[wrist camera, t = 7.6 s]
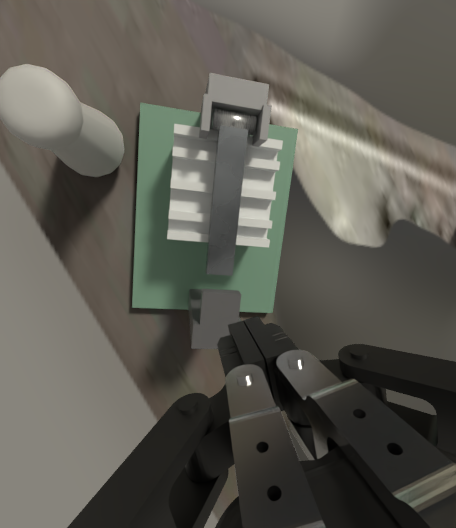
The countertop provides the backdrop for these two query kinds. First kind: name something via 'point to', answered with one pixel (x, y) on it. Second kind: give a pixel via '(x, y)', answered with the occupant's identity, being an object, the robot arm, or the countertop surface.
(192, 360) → the countertop surface
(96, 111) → the salt shaker
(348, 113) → the countertop surface
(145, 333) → the countertop surface
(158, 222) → the heatsink base
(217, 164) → the strap
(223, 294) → the block
